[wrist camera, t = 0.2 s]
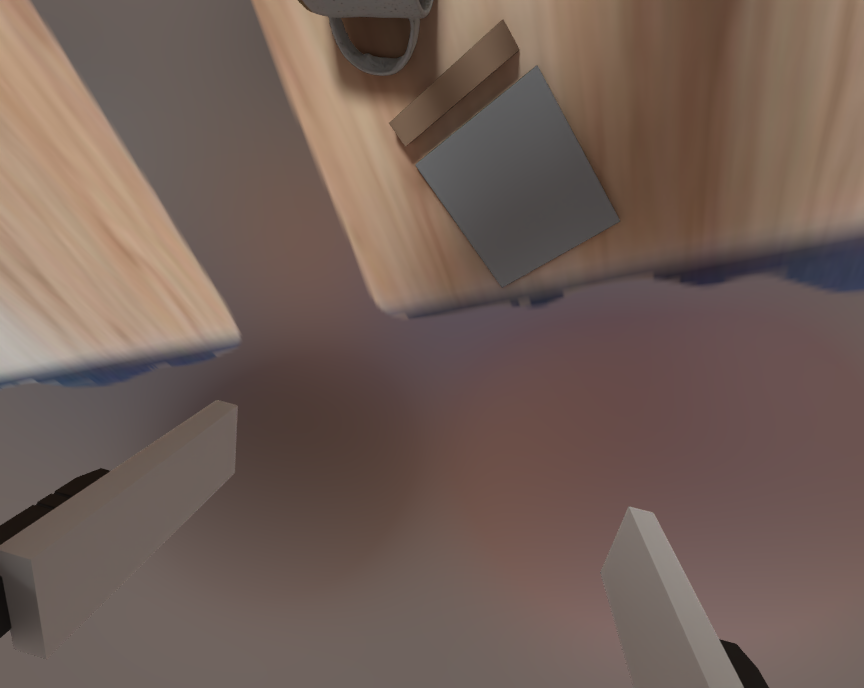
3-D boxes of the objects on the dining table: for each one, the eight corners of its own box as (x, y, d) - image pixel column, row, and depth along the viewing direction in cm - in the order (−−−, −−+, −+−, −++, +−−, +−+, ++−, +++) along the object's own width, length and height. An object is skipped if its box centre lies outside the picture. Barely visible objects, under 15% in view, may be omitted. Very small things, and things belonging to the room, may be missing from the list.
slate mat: (537, 65, 29) (537, 65, 29) (619, 218, 34) (620, 221, 33) (416, 163, 34) (415, 164, 34) (502, 284, 39) (501, 287, 38)
